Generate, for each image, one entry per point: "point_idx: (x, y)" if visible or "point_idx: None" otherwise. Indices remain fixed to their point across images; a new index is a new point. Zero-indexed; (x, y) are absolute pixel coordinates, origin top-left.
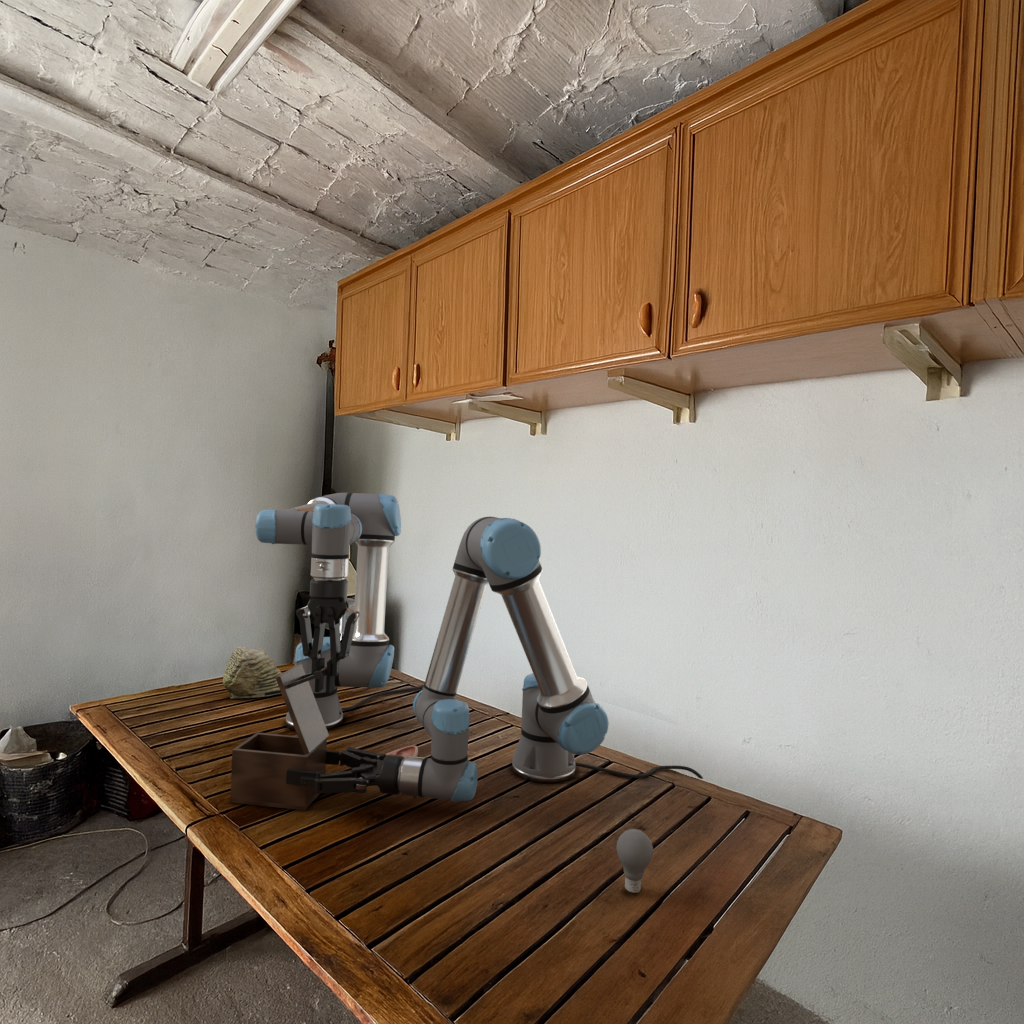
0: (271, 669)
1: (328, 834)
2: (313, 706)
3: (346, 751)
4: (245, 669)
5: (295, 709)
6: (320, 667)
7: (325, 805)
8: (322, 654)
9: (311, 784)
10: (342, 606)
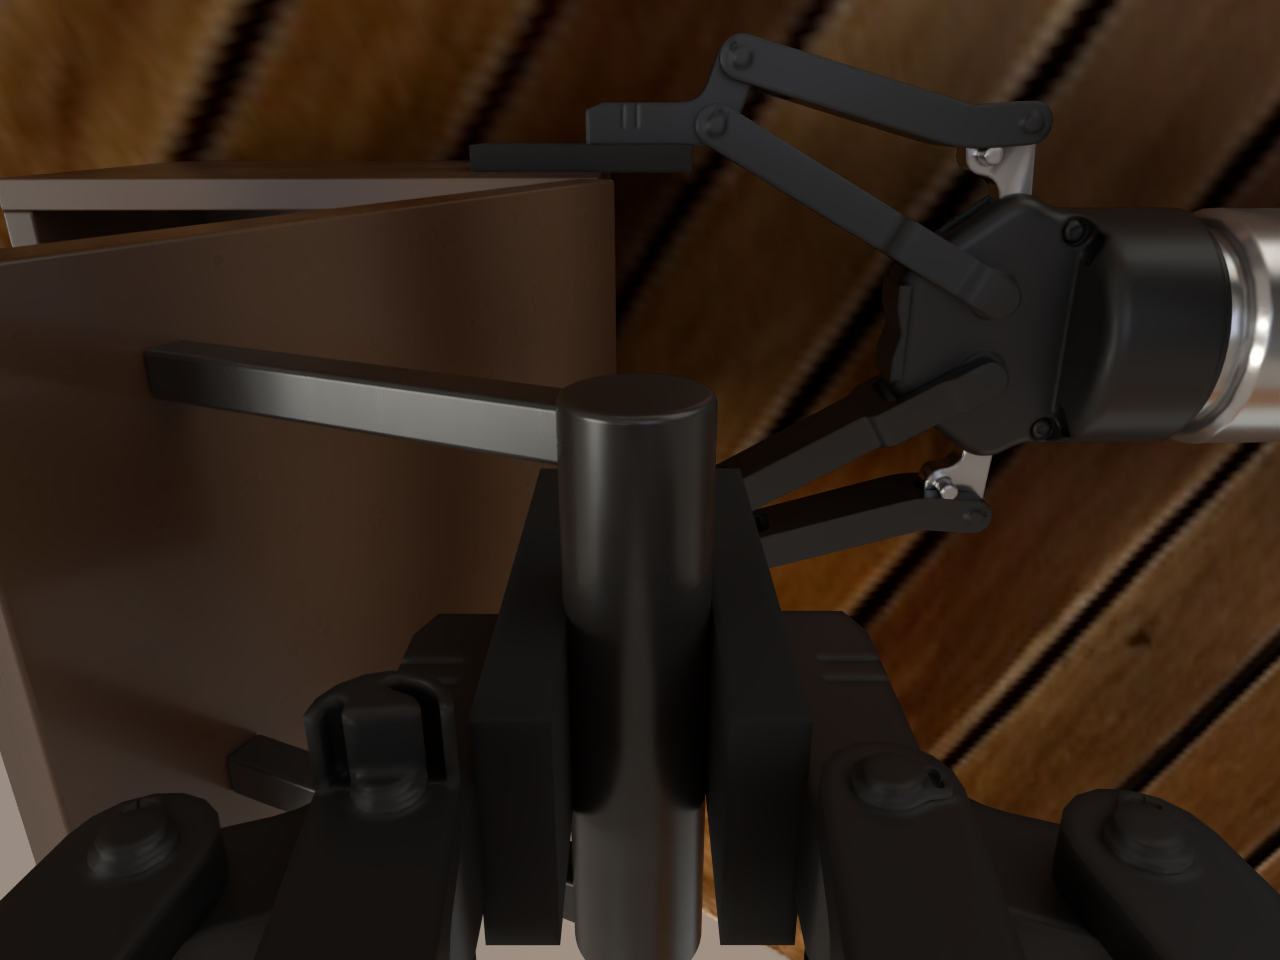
0: None
1: (799, 573)
2: (454, 300)
3: (739, 120)
4: None
5: None
6: (568, 791)
7: (689, 342)
8: (453, 722)
9: None
10: None
